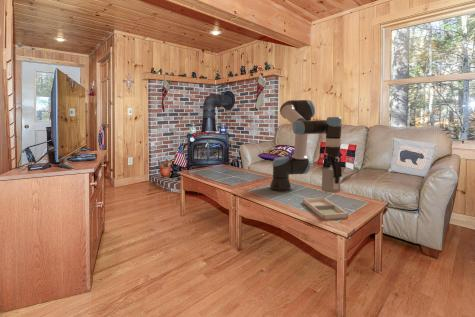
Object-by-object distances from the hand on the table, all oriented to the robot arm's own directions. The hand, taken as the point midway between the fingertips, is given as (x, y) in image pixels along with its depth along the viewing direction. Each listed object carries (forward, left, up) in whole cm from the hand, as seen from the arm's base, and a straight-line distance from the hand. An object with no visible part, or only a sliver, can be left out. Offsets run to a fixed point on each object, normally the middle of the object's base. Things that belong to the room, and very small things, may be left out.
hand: (330, 186), depth 147 cm
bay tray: (-7, 0, -16) cm, 17 cm away
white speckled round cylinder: (0, 0, -2) cm, 2 cm away
